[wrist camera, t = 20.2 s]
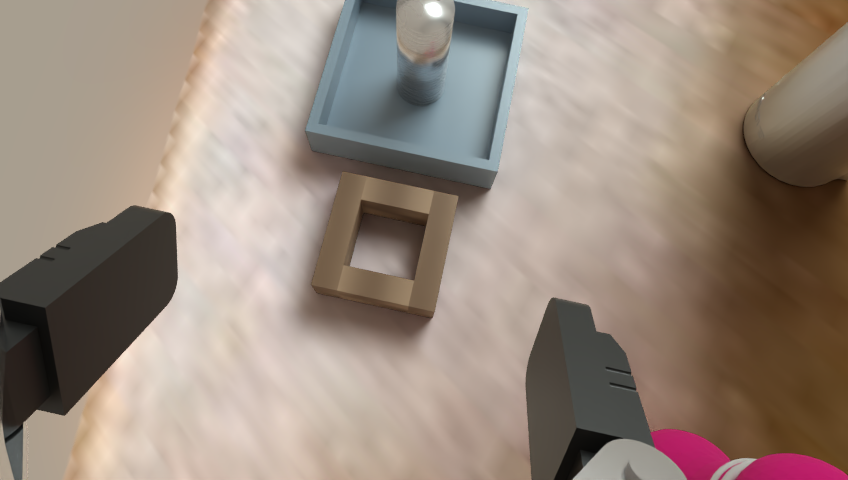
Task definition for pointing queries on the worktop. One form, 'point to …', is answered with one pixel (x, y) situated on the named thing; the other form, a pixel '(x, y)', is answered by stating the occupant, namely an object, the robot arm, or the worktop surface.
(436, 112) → the parts tray
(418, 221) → the socket block
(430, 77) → the pin
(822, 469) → the pepper mill
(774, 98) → the robot arm
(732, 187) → the worktop surface
